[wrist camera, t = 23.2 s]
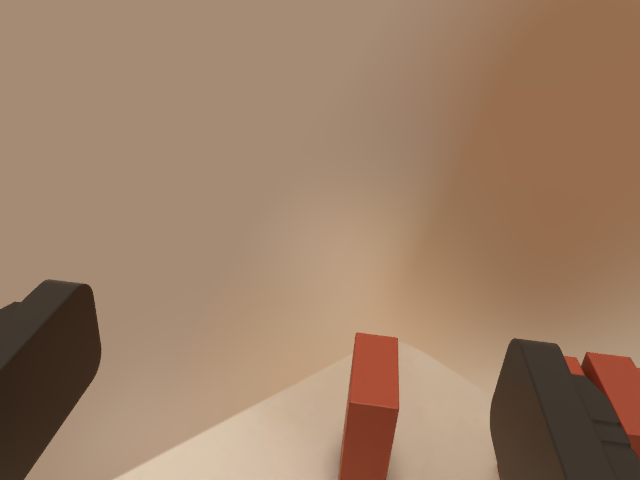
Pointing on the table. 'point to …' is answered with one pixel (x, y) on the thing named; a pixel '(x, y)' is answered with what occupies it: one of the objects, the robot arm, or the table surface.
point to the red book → (370, 409)
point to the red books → (615, 388)
